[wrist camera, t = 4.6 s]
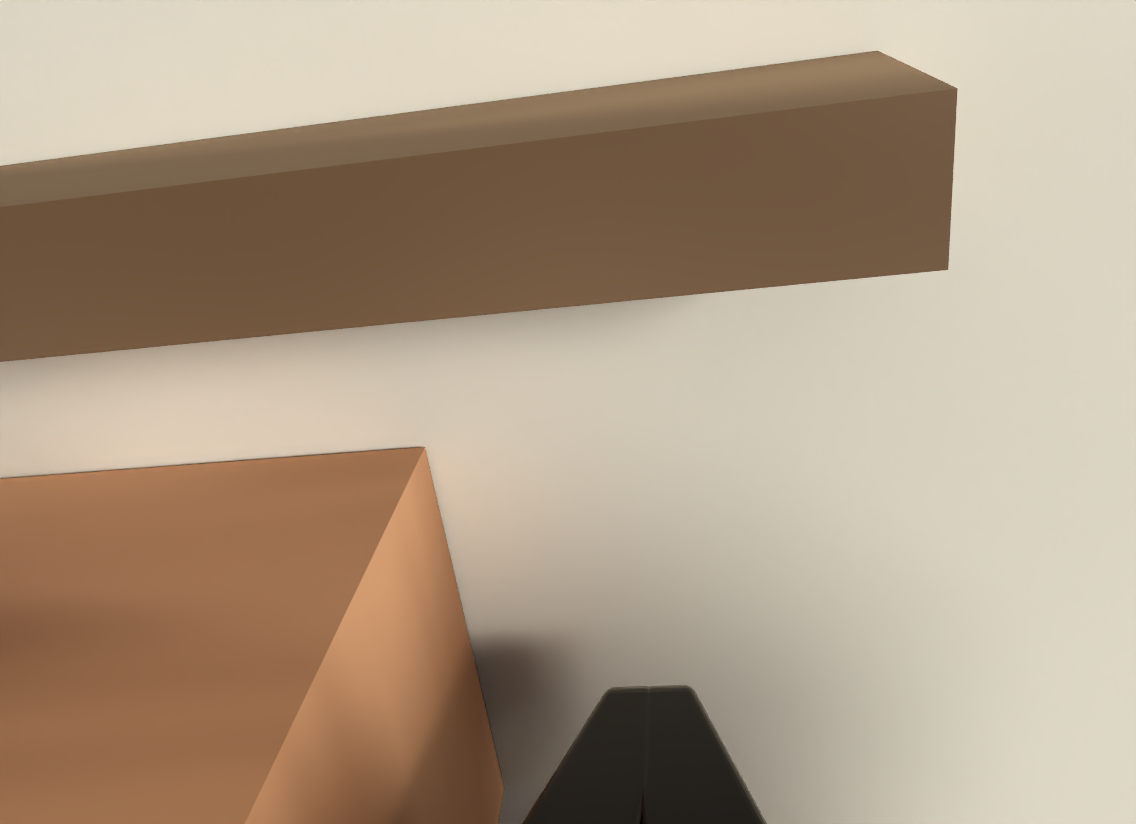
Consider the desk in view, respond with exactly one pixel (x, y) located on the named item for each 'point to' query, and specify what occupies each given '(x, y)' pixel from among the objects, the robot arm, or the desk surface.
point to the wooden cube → (238, 648)
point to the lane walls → (484, 209)
